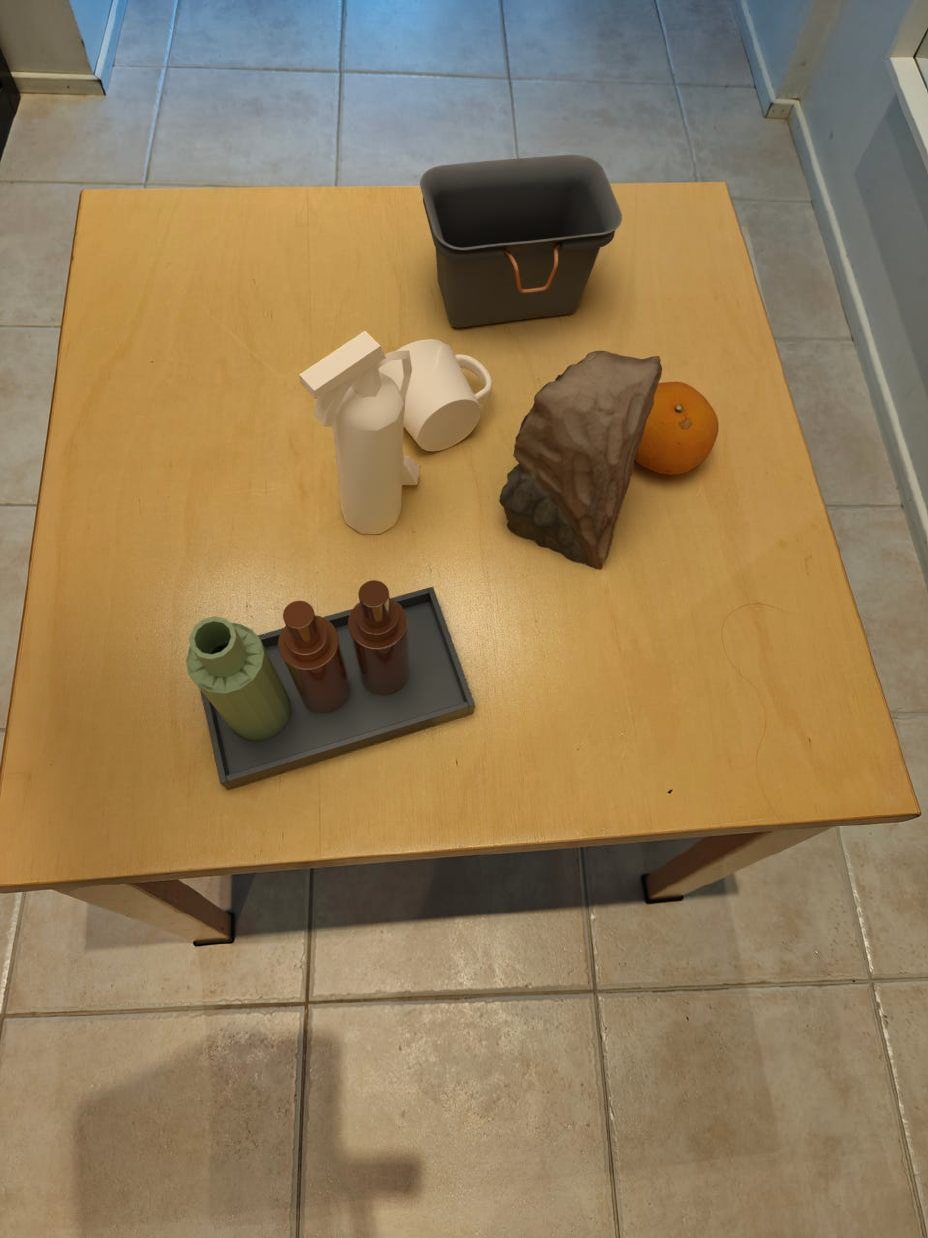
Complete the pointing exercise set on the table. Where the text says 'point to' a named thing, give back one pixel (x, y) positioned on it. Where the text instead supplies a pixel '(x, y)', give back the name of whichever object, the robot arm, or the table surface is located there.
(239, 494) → the table surface
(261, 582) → the table surface
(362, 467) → the fire extinguisher
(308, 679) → the bottle row
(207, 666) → the green bottle
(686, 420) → the fruit
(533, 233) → the storage bin
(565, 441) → the brown rock chunk
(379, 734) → the tray
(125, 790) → the table surface
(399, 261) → the table surface
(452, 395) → the mug
